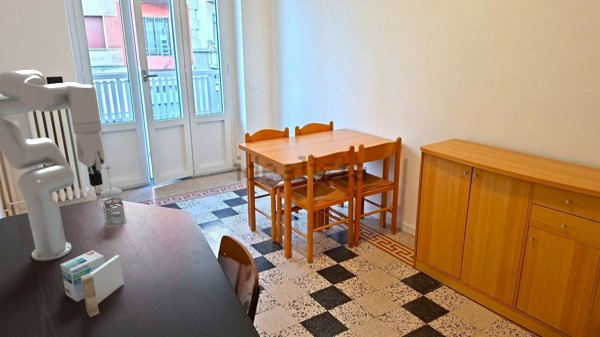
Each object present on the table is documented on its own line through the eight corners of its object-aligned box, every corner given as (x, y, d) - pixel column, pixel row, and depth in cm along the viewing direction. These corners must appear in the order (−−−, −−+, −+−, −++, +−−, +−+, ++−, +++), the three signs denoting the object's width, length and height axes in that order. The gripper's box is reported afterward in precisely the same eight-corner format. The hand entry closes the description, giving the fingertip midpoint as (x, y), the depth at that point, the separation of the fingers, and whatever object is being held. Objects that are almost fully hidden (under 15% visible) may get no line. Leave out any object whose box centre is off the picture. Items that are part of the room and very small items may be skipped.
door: (90, 309, 121) (84, 279, 118) (87, 309, 121) (81, 278, 118) (123, 283, 134) (119, 255, 130) (120, 282, 134) (116, 255, 131)
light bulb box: (77, 302, 125) (71, 271, 121) (65, 295, 128) (58, 264, 125) (110, 285, 133) (105, 255, 130) (97, 278, 137) (92, 249, 133)
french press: (122, 227, 172) (114, 169, 164) (94, 227, 172) (84, 169, 165) (132, 217, 182) (124, 162, 174) (105, 217, 182) (96, 162, 174)
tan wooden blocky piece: (67, 287, 132) (60, 253, 128) (75, 284, 134) (69, 250, 130) (90, 317, 118) (83, 280, 115) (99, 313, 120) (92, 276, 116)
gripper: (65, 125, 128) (75, 181, 133) (82, 133, 118) (92, 194, 123) (91, 121, 133) (100, 176, 138) (109, 129, 122) (118, 188, 128)
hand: (96, 184), depth 131 cm, fingers closed
